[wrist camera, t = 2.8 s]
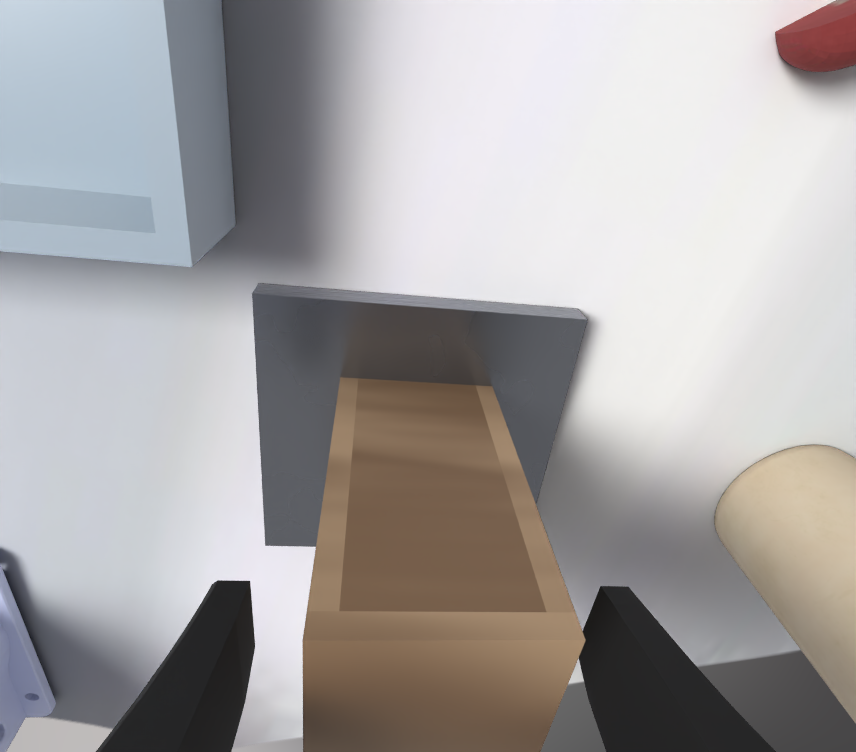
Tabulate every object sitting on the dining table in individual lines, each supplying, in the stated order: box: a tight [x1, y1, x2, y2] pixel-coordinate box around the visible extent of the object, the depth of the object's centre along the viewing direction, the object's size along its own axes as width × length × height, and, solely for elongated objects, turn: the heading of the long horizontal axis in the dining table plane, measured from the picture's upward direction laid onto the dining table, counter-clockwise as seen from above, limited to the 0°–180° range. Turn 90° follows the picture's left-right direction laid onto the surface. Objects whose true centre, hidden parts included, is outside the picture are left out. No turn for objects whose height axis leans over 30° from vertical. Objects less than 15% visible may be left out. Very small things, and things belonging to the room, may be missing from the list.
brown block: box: [303, 377, 586, 752], centre depth 13 cm, size 4×4×8 cm
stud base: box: [252, 283, 587, 547], centre depth 15 cm, size 9×9×3 cm
